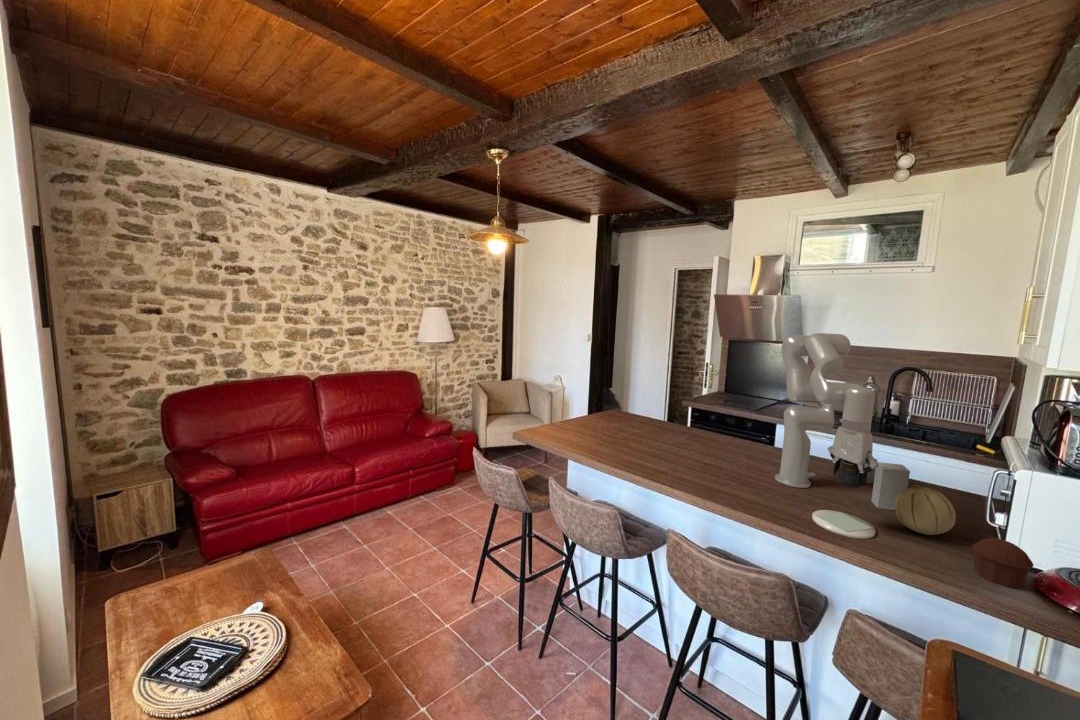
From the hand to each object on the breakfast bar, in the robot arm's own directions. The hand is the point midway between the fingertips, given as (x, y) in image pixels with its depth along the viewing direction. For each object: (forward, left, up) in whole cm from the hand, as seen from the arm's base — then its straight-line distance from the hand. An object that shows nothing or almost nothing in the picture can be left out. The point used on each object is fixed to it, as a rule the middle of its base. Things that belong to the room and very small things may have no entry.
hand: (848, 479), depth 141 cm
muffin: (-15, +32, -16) cm, 39 cm away
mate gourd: (0, 0, -3) cm, 3 cm away
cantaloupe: (-22, +9, -16) cm, 29 cm away
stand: (0, 0, -16) cm, 16 cm away
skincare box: (-30, -7, -16) cm, 35 cm away
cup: (-46, -28, -16) cm, 56 cm away
